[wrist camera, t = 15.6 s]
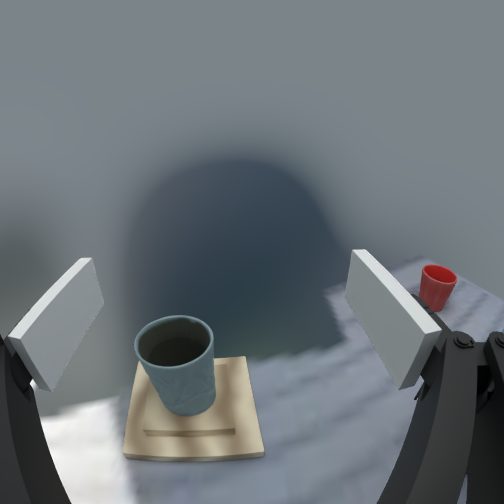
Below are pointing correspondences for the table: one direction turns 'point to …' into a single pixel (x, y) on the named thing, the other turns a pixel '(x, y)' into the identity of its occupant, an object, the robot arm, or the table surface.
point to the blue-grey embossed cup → (179, 362)
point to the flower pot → (436, 286)
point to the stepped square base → (195, 421)
